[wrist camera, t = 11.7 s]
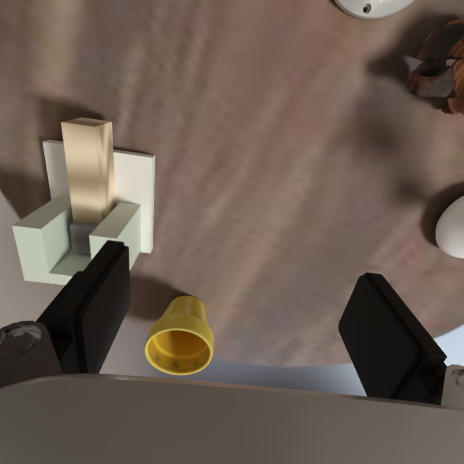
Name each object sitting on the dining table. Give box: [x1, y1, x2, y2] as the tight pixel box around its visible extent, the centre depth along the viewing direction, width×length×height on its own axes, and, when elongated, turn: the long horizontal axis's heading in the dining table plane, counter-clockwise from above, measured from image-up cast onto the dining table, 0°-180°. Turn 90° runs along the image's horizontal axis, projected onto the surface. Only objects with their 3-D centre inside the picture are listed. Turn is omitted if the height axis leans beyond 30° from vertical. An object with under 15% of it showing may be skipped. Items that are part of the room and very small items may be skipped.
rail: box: [61, 117, 116, 254], centre depth 36 cm, size 16×4×6 cm, turn 172°
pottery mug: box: [406, 19, 464, 115], centre depth 33 cm, size 12×10×8 cm
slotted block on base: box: [12, 140, 155, 285], centre depth 37 cm, size 15×14×12 cm
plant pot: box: [144, 296, 213, 375], centre depth 47 cm, size 10×10×10 cm
